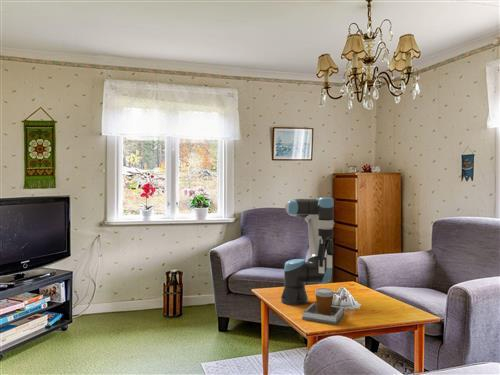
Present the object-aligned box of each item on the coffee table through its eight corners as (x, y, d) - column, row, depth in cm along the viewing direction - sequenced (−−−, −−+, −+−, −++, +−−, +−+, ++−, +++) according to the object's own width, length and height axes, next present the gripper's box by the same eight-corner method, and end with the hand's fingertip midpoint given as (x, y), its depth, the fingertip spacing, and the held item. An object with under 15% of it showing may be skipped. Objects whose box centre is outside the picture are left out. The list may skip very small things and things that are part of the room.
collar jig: (302, 319, 198) (302, 312, 198) (312, 309, 213) (312, 302, 213) (336, 324, 191) (336, 317, 191) (344, 314, 206) (344, 307, 206)
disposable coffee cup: (329, 318, 196) (330, 294, 195) (311, 315, 201) (311, 291, 200) (336, 313, 204) (336, 289, 204) (318, 309, 209) (318, 286, 209)
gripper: (325, 231, 190) (325, 276, 190) (339, 226, 212) (339, 266, 212) (310, 230, 193) (310, 274, 194) (325, 225, 215) (325, 264, 216)
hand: (325, 270), depth 203 cm, fingers open, 13 cm apart
